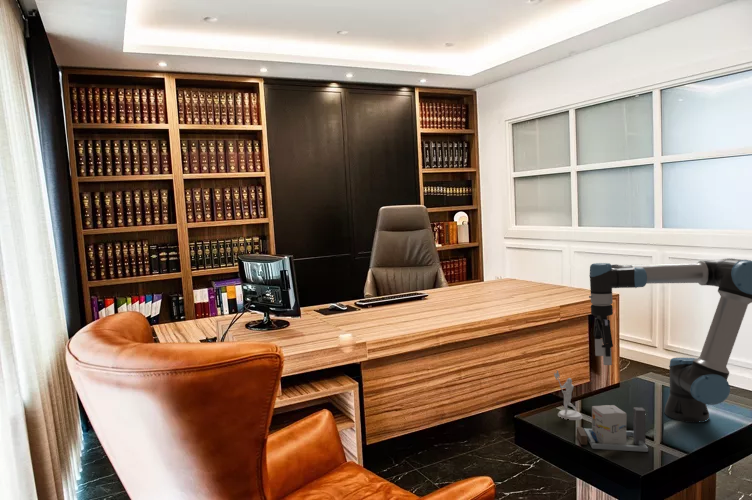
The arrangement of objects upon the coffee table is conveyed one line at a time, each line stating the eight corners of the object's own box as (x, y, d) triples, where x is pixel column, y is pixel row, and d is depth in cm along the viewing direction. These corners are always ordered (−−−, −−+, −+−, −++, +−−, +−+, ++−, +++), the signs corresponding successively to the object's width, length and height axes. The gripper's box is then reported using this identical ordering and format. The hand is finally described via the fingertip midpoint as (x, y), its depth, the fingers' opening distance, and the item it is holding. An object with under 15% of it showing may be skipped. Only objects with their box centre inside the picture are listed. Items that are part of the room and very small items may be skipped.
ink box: (591, 437, 185) (591, 405, 185) (613, 435, 186) (613, 404, 185) (603, 447, 176) (603, 413, 176) (627, 445, 177) (627, 412, 177)
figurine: (552, 412, 210) (552, 369, 210) (573, 410, 212) (573, 367, 211) (565, 421, 201) (565, 375, 200) (587, 419, 202) (587, 373, 202)
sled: (637, 434, 186) (637, 402, 185) (650, 451, 172) (650, 416, 171) (583, 432, 189) (583, 400, 189) (592, 448, 175) (592, 413, 175)
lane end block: (582, 435, 187) (582, 427, 186) (587, 444, 179) (587, 436, 179) (576, 435, 187) (576, 427, 187) (581, 444, 179) (581, 435, 179)
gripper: (584, 299, 206) (586, 352, 207) (598, 309, 182) (600, 368, 182) (604, 299, 204) (606, 352, 205) (620, 309, 180) (622, 369, 181)
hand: (603, 360), depth 194 cm, fingers open, 13 cm apart
